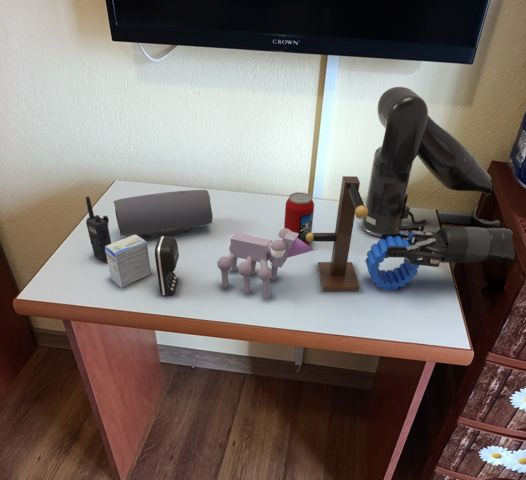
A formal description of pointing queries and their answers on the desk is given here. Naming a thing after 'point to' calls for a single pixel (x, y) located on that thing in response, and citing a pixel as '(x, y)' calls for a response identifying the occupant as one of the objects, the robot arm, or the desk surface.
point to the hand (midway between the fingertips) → (384, 244)
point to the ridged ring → (389, 278)
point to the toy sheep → (260, 256)
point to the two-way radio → (98, 232)
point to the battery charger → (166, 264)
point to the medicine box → (128, 260)
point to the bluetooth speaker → (163, 212)
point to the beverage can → (299, 214)
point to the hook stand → (341, 239)
